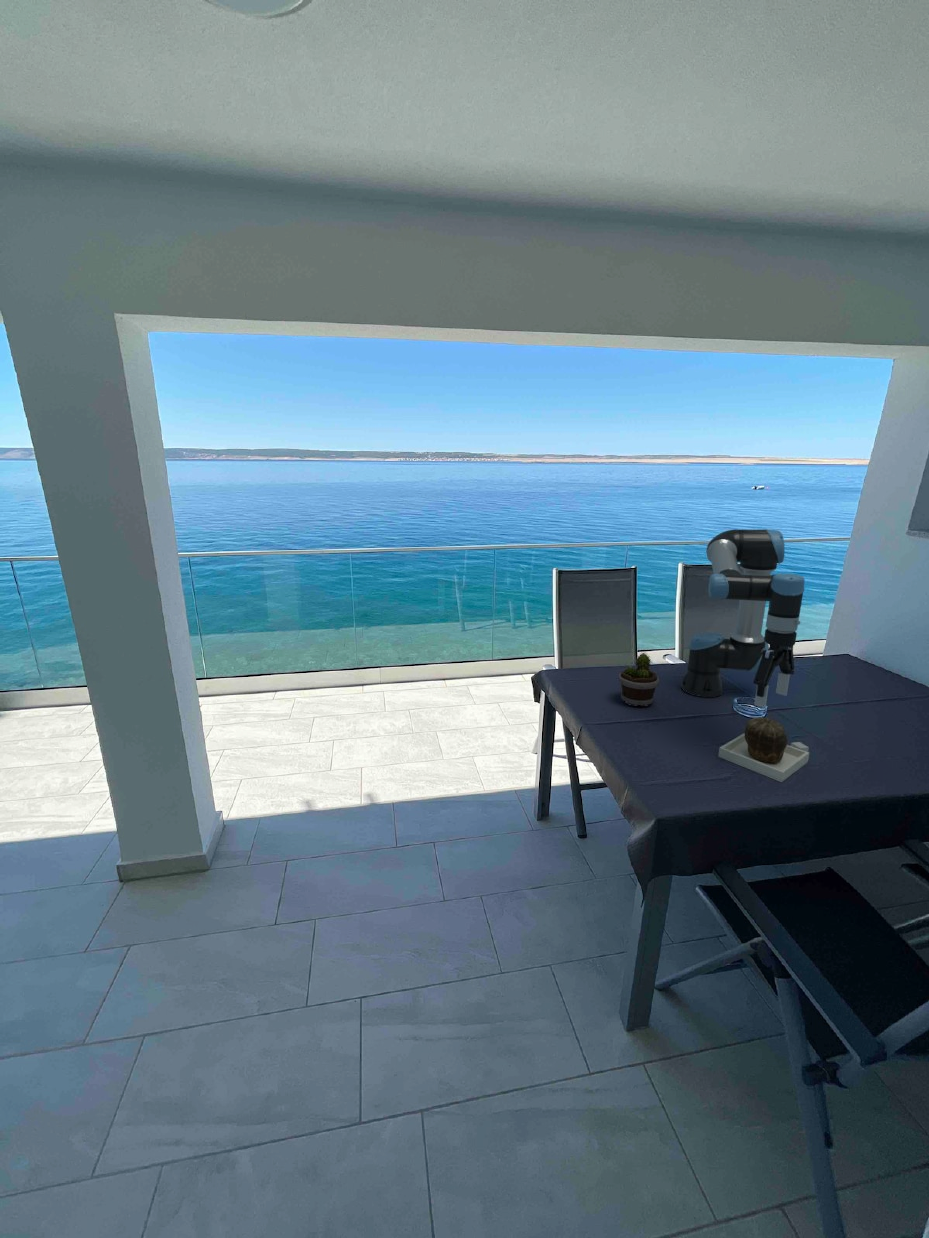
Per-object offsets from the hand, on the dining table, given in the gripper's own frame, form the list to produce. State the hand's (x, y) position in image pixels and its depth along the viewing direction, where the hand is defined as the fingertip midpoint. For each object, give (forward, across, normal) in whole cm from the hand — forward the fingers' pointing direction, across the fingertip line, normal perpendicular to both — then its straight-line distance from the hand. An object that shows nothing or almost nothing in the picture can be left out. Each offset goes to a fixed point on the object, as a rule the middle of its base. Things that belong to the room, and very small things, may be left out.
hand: (770, 700), depth 146 cm
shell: (+18, -1, 0) cm, 18 cm away
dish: (+19, 0, 0) cm, 19 cm away
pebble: (+19, +14, -5) cm, 24 cm away
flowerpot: (+20, +6, +48) cm, 52 cm away
